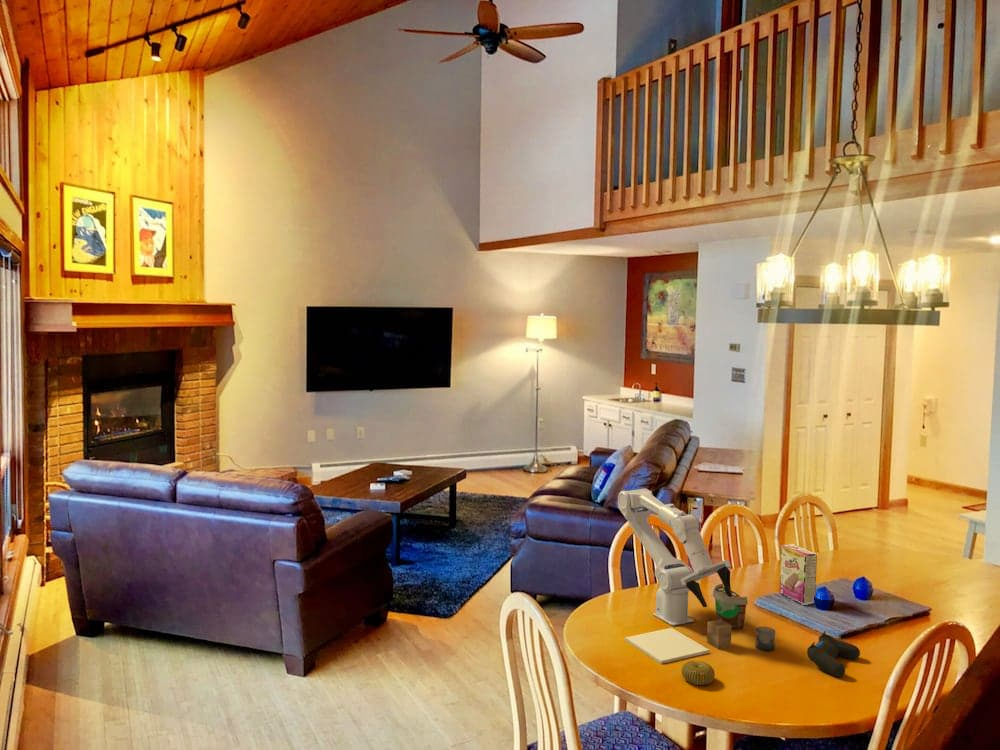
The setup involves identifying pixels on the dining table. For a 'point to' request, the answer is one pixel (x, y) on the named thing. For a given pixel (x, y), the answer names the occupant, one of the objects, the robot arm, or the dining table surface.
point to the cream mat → (666, 645)
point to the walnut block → (719, 634)
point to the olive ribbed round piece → (698, 668)
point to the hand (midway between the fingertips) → (717, 601)
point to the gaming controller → (831, 654)
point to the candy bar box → (798, 573)
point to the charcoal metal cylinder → (765, 639)
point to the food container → (730, 607)
